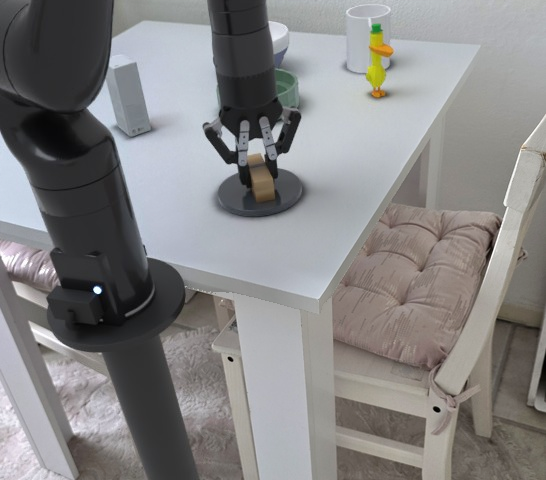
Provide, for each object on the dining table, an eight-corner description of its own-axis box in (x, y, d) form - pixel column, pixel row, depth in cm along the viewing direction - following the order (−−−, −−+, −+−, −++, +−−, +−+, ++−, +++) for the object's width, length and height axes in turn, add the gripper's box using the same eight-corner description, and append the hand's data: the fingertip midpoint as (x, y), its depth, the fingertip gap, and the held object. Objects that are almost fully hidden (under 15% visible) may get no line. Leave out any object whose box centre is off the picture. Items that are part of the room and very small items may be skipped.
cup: (348, 82, 122) (346, 27, 116) (346, 58, 132) (345, 6, 125) (392, 79, 122) (394, 23, 115) (388, 55, 131) (389, 2, 124)
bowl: (307, 66, 131) (304, 26, 126) (258, 92, 123) (254, 51, 118) (252, 54, 138) (248, 16, 134) (203, 78, 130) (197, 39, 126)
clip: (276, 199, 91) (273, 178, 89) (256, 203, 91) (253, 182, 89) (263, 172, 97) (261, 152, 95) (245, 176, 97) (242, 156, 95)
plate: (288, 220, 89) (288, 213, 88) (206, 213, 92) (205, 206, 92) (310, 175, 97) (310, 169, 97) (234, 170, 101) (233, 164, 100)
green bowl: (287, 127, 110) (284, 102, 107) (208, 124, 114) (204, 99, 111) (308, 92, 120) (306, 68, 118) (235, 90, 124) (232, 67, 122)
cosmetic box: (152, 130, 115) (137, 61, 107) (130, 138, 113) (112, 69, 105) (138, 119, 119) (123, 52, 111) (116, 126, 117) (99, 59, 109)
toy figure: (398, 98, 115) (400, 27, 107) (382, 104, 114) (383, 33, 106) (375, 86, 120) (375, 18, 112) (359, 92, 119) (358, 23, 111)
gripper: (193, 83, 79) (215, 206, 90) (306, 62, 81) (314, 186, 92) (185, 62, 85) (207, 180, 96) (290, 43, 86) (300, 161, 97)
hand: (259, 182), depth 94 cm, fingers closed on clip, 2 cm apart
